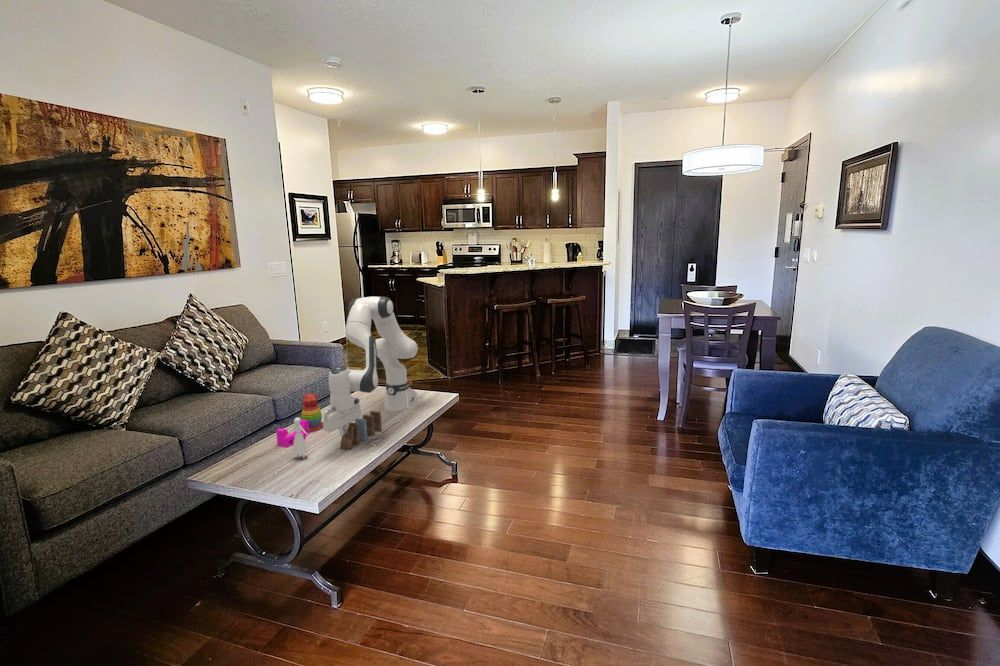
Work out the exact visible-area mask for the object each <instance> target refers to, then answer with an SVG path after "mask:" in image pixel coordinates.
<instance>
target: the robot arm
mask: <svg viewBox="0 0 1000 666" xmlns="http://www.w3.org/2000/svg"><path fill="white" fill-rule="evenodd" d="M372 320H373V323H374V325H375V328H376V331H377V335H379V336H380V337H381V338H375V337H374V336H373V335H372V331H371V328H372ZM344 329H345V333H344V334H345V337H346V339H347V340H348V341H349V342H350V343H352V344H353V345H355V346H357V347H360V348H361V349H364V351H365V368H364V369H349V368H348V366H345V365H337V366H334V367H332V368H330V370H329V374H328V390H329V391H330V394H329V395H330V396H329V402H330V408H329V409H326V411H325V412H324V415H323V419H322V422H323V428H322V429H323V431H324V432H327V433H332V432H335V431H336V430H338V432H339V435H340V436H341V437H342V436H343V435H345V434H346V433H348V432H347V429H348V426H349V423H353V421H355V419H357V418H358V419H360V417H361V414H362V411H361V404H360V402H361V400H360V398H359V397H353V396H352V393H351V392H359V393H360V392H361V393H366V394H367V393H369V394H370V393H372V392H374V391H375V390H376V389H377V388H378V386H379V375H378V359H379V360H380V362H381V363H382V365H383V367H384V370H385V371H384V372H385V380H386V381H385V382H386V383H385V392H384V403H383V407H384V409H385V410H387V411H391V412H400V411H405V410H411V409H414V408H415V407H416V406H417V405H418V404H420V403H421V402H422V399H421V398H418V395H417V392H416V391H415V390H414V389H413V388H411V387H410V385H412V380H408V376H407V375H408V374H407V368H406V366H405V365H404V364H402V363H401V362H400V361H399V359H401V360H407V359H412V358H415V356H416V355H417V353H418V350H419V348H418V344H417V342H416V341H415V340H414V339H411V338H410V337H409V336H408V335H406V333H405V332H404V331H402V329H401V326H400V325H399V323H398V321H397V317H396V315H395V313H394V302H393V301H392V299H390V298H389V297H387V296H366V297H365V296H364V297H356V298H352V299H351V300H350V301H349V303H348V316H347V319H346V324H345V328H344ZM343 426H344V427H343Z"/></svg>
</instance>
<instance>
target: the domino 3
mask: <svg viewBox="0 0 1000 666" xmlns="http://www.w3.org/2000/svg"><path fill="white" fill-rule="evenodd" d="M354 423H357V424H358V426H359V440H360V441H367V440H368V435H367V426H366V420H365V419H363V418H357V419H355V420H354Z"/></svg>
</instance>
